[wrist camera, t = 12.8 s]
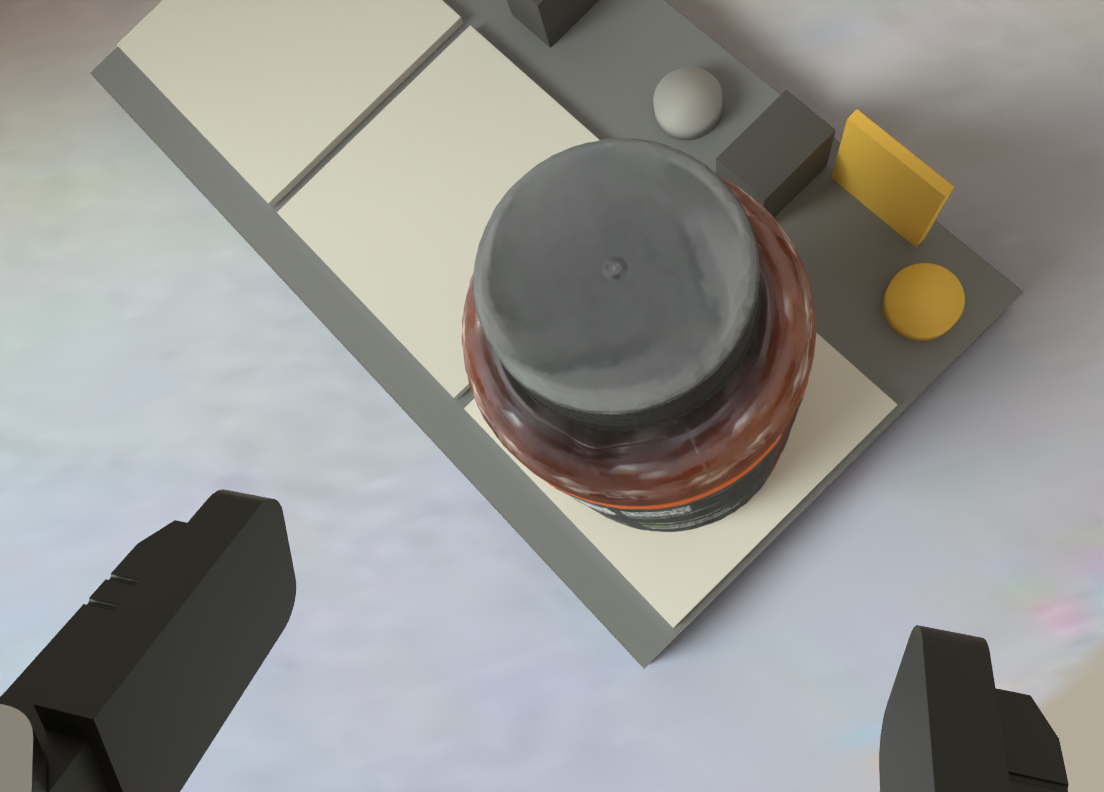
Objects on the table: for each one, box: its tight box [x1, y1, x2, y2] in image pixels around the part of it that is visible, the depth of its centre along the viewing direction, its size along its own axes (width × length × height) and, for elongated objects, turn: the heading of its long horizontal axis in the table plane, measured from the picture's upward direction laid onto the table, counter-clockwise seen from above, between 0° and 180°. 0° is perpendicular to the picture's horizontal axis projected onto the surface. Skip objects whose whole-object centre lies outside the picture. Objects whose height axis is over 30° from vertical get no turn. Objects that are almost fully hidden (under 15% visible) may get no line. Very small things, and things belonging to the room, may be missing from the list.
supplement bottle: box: [462, 139, 816, 532], centre depth 18 cm, size 6×6×11 cm
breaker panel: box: [91, 0, 1023, 668], centre depth 25 cm, size 24×13×4 cm, turn 45°
